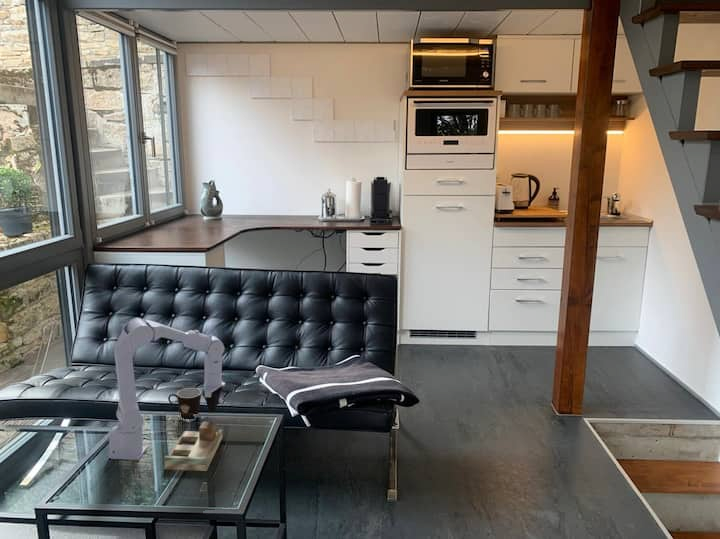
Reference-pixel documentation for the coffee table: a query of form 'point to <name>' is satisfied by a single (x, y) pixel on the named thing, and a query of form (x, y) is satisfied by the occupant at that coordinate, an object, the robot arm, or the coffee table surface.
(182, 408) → the coffee mug
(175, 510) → the coffee table surface
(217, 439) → the trap deck
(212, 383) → the robot arm
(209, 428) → the walnut block
